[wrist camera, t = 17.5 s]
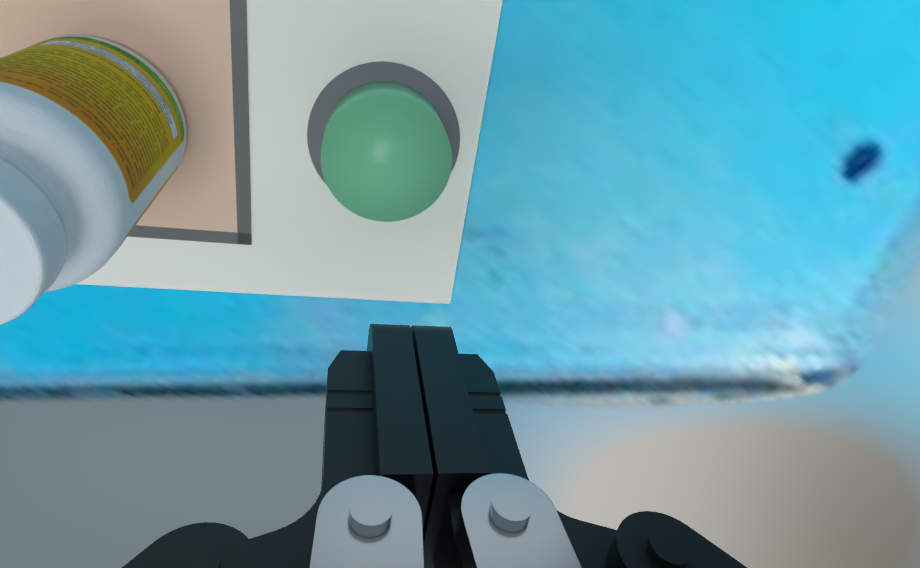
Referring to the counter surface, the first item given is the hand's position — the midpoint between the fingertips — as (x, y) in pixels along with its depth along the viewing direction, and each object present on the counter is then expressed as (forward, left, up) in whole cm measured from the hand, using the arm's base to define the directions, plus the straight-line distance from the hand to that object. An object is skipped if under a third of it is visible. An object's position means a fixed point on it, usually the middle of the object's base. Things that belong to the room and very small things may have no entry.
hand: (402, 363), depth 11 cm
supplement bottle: (-9, 0, -13) cm, 16 cm away
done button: (0, 0, -13) cm, 13 cm away
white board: (-5, 0, -14) cm, 15 cm away
